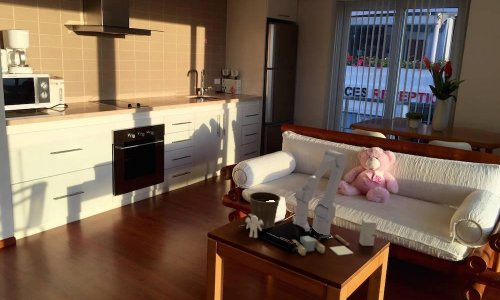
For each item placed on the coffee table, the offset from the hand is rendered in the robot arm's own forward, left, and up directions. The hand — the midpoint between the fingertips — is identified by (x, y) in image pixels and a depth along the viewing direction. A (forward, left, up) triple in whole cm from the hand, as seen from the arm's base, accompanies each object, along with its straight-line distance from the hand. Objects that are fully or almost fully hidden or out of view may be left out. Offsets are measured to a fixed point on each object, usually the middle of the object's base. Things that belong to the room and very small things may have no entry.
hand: (299, 239), depth 218 cm
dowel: (+5, +21, -1) cm, 22 cm away
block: (+8, 0, -1) cm, 8 cm away
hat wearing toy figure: (-11, -20, -1) cm, 23 cm away
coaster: (+14, +15, -1) cm, 21 cm away
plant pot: (-23, -10, -2) cm, 25 cm away
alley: (+9, 0, -1) cm, 9 cm away
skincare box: (+10, +32, -1) cm, 34 cm away
